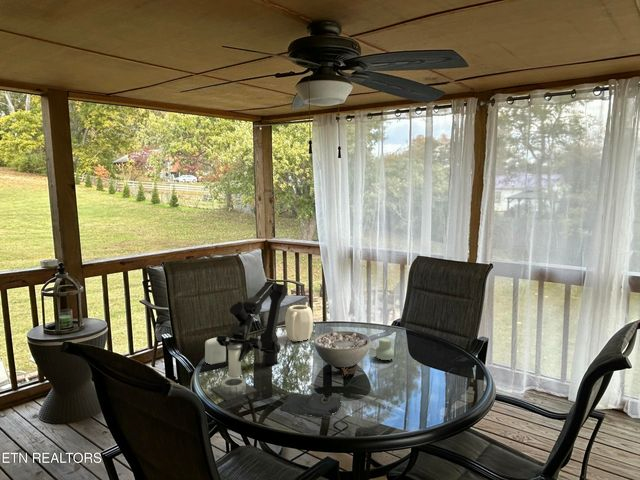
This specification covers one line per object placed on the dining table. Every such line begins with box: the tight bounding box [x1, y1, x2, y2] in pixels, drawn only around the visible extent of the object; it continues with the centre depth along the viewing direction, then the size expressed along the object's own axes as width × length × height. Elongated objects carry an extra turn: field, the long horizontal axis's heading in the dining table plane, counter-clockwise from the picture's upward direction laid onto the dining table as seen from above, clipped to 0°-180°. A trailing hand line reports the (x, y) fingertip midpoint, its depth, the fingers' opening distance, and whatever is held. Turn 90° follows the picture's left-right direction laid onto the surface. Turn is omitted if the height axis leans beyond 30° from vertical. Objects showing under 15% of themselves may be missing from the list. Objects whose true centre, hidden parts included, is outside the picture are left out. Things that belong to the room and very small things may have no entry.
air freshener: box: [375, 337, 395, 361], centre depth 223 cm, size 11×8×10 cm
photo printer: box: [204, 336, 227, 365], centre depth 216 cm, size 10×4×12 cm, turn 123°
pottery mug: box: [341, 363, 359, 375], centre depth 204 cm, size 12×10×8 cm
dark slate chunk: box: [280, 391, 342, 418], centre depth 171 cm, size 15×22×5 cm
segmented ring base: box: [210, 376, 258, 402], centre depth 185 cm, size 14×14×4 cm
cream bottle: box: [227, 343, 243, 378], centre depth 184 cm, size 6×6×12 cm
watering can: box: [284, 301, 314, 342], centre depth 254 cm, size 16×27×19 cm, turn 163°
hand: (233, 360), depth 182 cm, fingers closed on cream bottle, 5 cm apart
